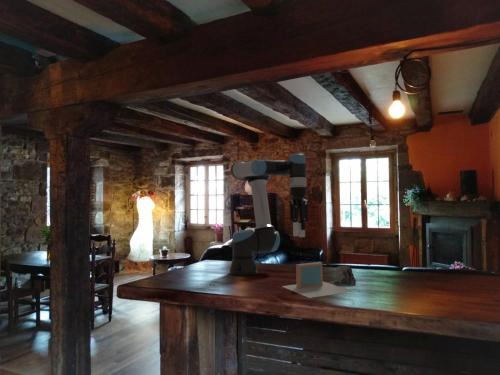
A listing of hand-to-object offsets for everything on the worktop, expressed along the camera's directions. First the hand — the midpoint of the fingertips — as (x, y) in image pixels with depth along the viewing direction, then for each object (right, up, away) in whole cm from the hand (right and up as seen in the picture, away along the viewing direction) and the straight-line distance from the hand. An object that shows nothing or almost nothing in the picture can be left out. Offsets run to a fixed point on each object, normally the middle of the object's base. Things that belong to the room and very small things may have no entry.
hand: (299, 236), depth 171 cm
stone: (+21, -23, -1) cm, 31 cm away
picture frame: (+4, -21, -8) cm, 23 cm away
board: (+6, -22, -13) cm, 26 cm away
